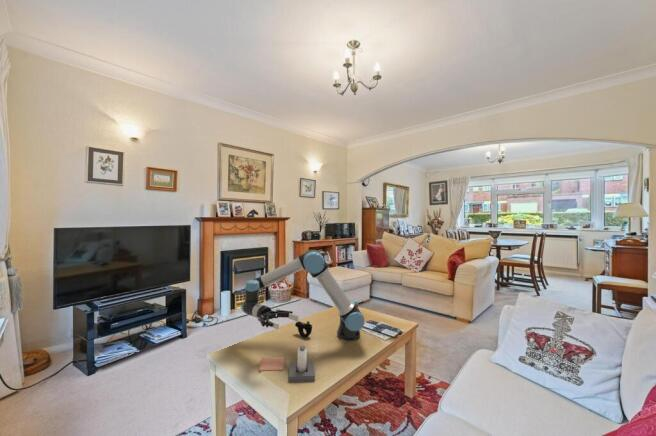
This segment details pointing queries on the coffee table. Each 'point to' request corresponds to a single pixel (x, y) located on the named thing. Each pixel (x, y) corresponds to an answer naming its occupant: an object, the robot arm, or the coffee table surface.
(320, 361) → the coffee table surface
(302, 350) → the plug
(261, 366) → the tile
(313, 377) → the socket block
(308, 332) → the controller
